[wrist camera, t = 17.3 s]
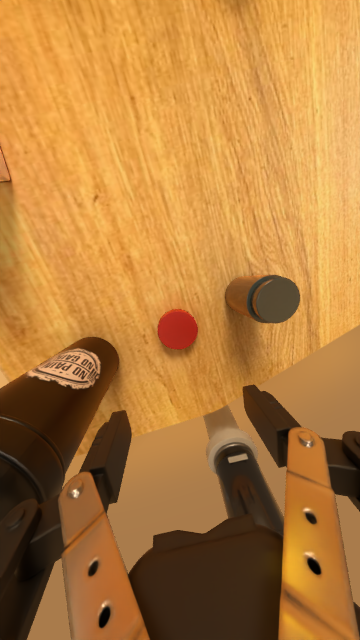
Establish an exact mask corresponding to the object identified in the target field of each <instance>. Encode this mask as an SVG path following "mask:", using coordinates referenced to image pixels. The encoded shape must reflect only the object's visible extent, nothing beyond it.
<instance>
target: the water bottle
mask: <svg viewBox="0 0 360 640" xmlns="http://www.w3.org/2000/svg"><path fill="white" fill-rule="evenodd" d="M118 366H119V357H118V354H117V352H116V350H115V348H114V347H113V346H112V345H111V344H110V343H109V342H107V341H105V340H103V339H100V338H96V337H87V338H83V339H81V340H79V341H77V342H76V343H74V344H72V345H71V346H69V347H67V348H66V349H64V350H62V351H61V352H59V353H58V354H56V355H54V356H53V357H51V358H49V359H48V360H46V361H44V362H43V363H41V364H40V365H38V366H36V367H35V368H33V369H31V370H30V371H28V372H26V373H25V374H23V375H22V376H20V377H18V378H17V379H15V380H13V381H12V382H10V383H9V384H7V385H6V386H4V387H2V388H1V389H0V522H1V520H2V519H3V518H4V517H5V516H6V515H7V513H8V512H9V511H11V510H12V509H13V508H14V507H15V506H17V505H18V504H19V503H21V502H23V501H25V500H27V499H36V500H37V502H38V504H39V505H40V504H42V503H43V502H45V501H47V500H49V499H51V498H53V497H55V496H57V495H58V494H60V492H61V490H62V486H63V483H64V480H65V473H66V471H67V469H68V467H69V465H70V463H71V461H72V459H73V457H74V455H75V453H76V451H77V449H78V447H79V445H80V443H81V441H82V439H83V437H84V435H85V433H86V431H87V429H88V427H89V425H90V423H91V421H92V419H93V417H94V415H95V413H96V411H97V409H98V407H99V405H100V403H101V401H102V399H103V397H104V395H105V393H106V391H107V389H108V387H109V385H110V383H111V381H112V379H113V377H114V375H115V373H116V371H117V369H118Z"/></svg>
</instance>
